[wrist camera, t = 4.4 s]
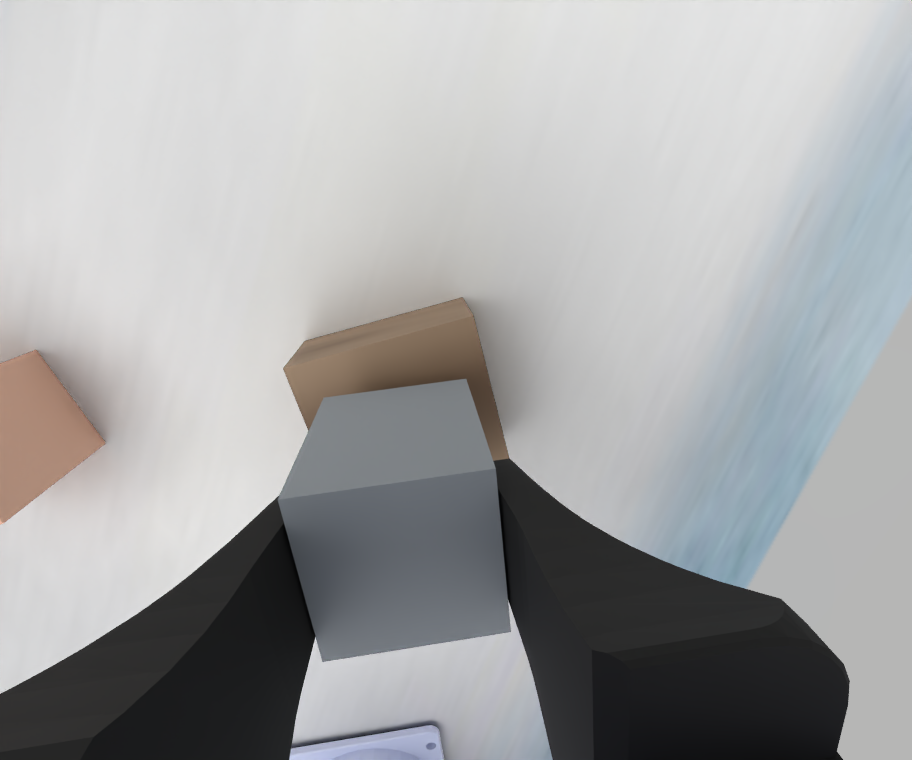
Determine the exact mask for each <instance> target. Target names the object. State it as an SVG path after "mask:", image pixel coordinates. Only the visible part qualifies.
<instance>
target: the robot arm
mask: <svg viewBox="0 0 912 760" xmlns="http://www.w3.org/2000/svg"><path fill="white" fill-rule="evenodd" d="M493 462H494V465H495V468H496V477H497V487H498V498H499V509H500V520H501V531H502V542H503V552H504V563H505V574H506V585H507V596H508V600H509V603H510V606H511V609H512V612H513V615H514V618H515V621H516V624H517V627H518V630H519V633H520V636H521V639H522V642H523V645H524V648H525V651H526V654H527V657H528V660H529V664H530V667H531V670H532V674H533V677H534V681H535V685H536V690H537V694H538V698H539V702H540V707H541V711H542V715H543V719H544V724H545V728H546V732H547V737H548V741H549V745H550V750H551V754H552V758H553V760H843V759H842V758H841V756H840V755H839V754H838V752H837V748H838V743H839V740H840V735H841V731H842V727H843V723H844V719H845V715H846V710H847V707H848V696H849V695H848V694H849V682H850V681H849V678H848V675H847V672H846V669H845V666H844V664H843V663H842V662H841V661H840V659H839V658H838V657H837V656H836V655H835V654H834V653H833V652H832V651H831V650H830V649H829V648H828V646H827V645H826V644H825V643H824V642H823V641H822V640H821V639H820V638H819V637H818V636H817V634H816V633H815V632H814V631H813V630H812V629H811V628H810V627H809V626H808V624H807V623H806V622H804V620H803V619H801V618H800V617H799V616H798V615H797V614H796V613H795V612H794V611H793V610H792V609H791V608H790V607H789V606H788V605H787V604H786V603H785V602H784V601H782V600H781V599H779V598H776V597H772V596H769V595H765V594H762V593H758V592H755V591H751V590H748V589H744V588H740V587H737V586H733V585H730V584H726V583H723V582H719V581H716V580H713V579H710V578H708V577H705V576H702V575H699V574H696V573H694V572H691V571H688V570H685V569H682V568H680V567H677V566H675V565H672V564H670V563H667V562H665V561H662V560H660V559H658V558H655V557H653V556H651V555H649V554H647V553H645V552H642V551H640V550H638V549H636V548H634V547H631V546H629V545H628V544H626V543H624V542H622V541H620V540H618V539H616V538H614V537H612V536H611V535H609V534H607V533H605V532H604V531H602V530H600V529H598V528H597V527H595V526H593V525H592V524H590V523H588V522H587V521H585V520H584V519H582V518H581V517H579V516H578V515H576V514H575V513H573V512H572V511H571V510H569V509H568V508H566V507H565V506H564V505H562V504H561V503H560V502H558V501H557V500H556V499H555V498H554V497H552V496H551V495H550V494H549V493H547V492H546V491H545V490H544V489H542V488H541V487H540V486H539V485H538V484H537V483H536V482H534V481H533V480H532V479H531V478H530V477H529V476H528V475H527V474H526V473H525V472H523V471H522V470H521V469H520V468H519V467H518V466H517V465H516V464H515V463H514V462H513V461H511V460H510V459H502V460H495V461H493ZM279 496H280V495H279ZM279 496H278V497H277V498H276V499H275V500H274V501H273V502H272V503H270V504H269V505H268V506H267V507H266V508H265V509H264V510H263V511H262V512H261V513H260V514H259V515H258V516H257V517H256V518H254V519H253V520H252V521H251V522H250V523H249V524H248V525H247V526H246V527H245V528H244V529H243V530H242V531H240V532H239V533H238V534H237V535H236V536H235V537H234V538H233V539H232V540H231V541H230V542H229V543H227V544H226V545H225V546H224V547H223V548H222V549H220V550H219V551H218V552H217V553H216V554H214V555H213V556H212V557H211V558H210V559H209V560H207V561H206V562H205V563H204V564H203V565H202V566H200V567H199V568H198V569H197V570H196V571H195V572H193V573H192V574H191V575H190V576H188V577H187V578H186V579H185V580H183V581H182V582H181V583H179V584H178V585H177V586H175V587H174V588H173V589H172V590H170V591H169V592H167V593H166V594H165V595H163V596H162V597H161V598H159V599H158V600H156V601H155V602H154V603H152V604H151V605H149V606H148V607H147V608H145V609H144V610H142V611H141V612H139V613H138V614H136V615H135V616H133V617H132V618H130V619H129V620H127V621H126V622H124V623H122V624H121V625H119V626H118V627H116V628H115V629H113V630H111V631H110V632H108V633H107V634H105V635H104V636H102V637H100V638H99V639H97V640H96V641H94V642H93V643H91V644H89V645H88V646H86V647H85V648H83V649H81V650H80V651H78V652H76V653H74V654H73V655H71V656H69V657H67V658H66V659H64V660H62V661H60V662H59V663H57V664H55V665H53V666H52V667H50V668H48V669H46V670H44V671H43V672H41V673H39V674H37V675H35V676H33V677H32V678H30V679H28V680H26V681H24V682H22V683H20V684H19V685H17V686H15V687H13V688H11V689H9V690H7V691H5V692H3V693H1V694H0V760H444V756H443V750H442V744H441V739H440V733H439V730H438V728H437V727H435V726H432V725H428V726H422V727H416V728H410V729H404V730H398V731H392V732H386V733H380V734H374V735H368V736H362V737H356V738H350V739H344V740H338V741H332V742H327V743H321V744H315V745H309V746H303V747H297V748H291V745H292V739H293V732H294V726H295V719H296V714H297V709H298V705H299V700H300V695H301V691H302V687H303V683H304V679H305V675H306V671H307V667H308V663H309V659H310V656H311V652H312V648H313V644H314V640H315V633H314V629H313V626H312V622H311V618H310V615H309V611H308V608H307V604H306V600H305V597H304V593H303V589H302V586H301V582H300V579H299V575H298V571H297V568H296V564H295V561H294V557H293V553H292V550H291V546H290V543H289V539H288V535H287V532H286V528H285V525H284V521H283V517H282V514H281V510H280V506H279V503H278V498H279Z"/></svg>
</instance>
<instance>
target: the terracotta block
mask: <svg viewBox="0 0 912 760" xmlns="http://www.w3.org/2000/svg"><path fill="white" fill-rule="evenodd" d="M104 444H105V441H104V440H103V439H102V437H101V436H100V435H99V433H98V432H97V431H96V429H95V428H94V427H93V425H92V424H91V423H90V421H89V420H88V419H87V417H86V416H85V415H84V413H83V412H82V411H81V409H80V408H79V407H78V405H77V404H76V403H75V401H74V400H73V398H72V397H71V396H70V394H69V393H68V392H67V390H66V389H65V388H64V386H63V385H62V384H61V382H60V381H59V380H58V378H57V377H56V376H55V374H54V373H53V372H52V370H51V369H50V368H49V366H48V365H47V364H46V362H45V361H44V360H43V358H42V357H41V355H40V354H39V353H38V351H37V350H34V351H32V352H29V353H26V354H24V355H21V356H19V357H16V358H13V359H11V360H8V361H6V362H3V363H0V524H3V523H4V522H6V521H7V520H8V519H10V518H11V517H12V516H13V515H15V514H16V513H17V512H19V511H20V510H21V509H22V508H24V507H25V506H26V505H27V504H29V503H30V502H31V501H33V500H34V499H35V498H36V497H38V496H39V495H40V494H42V493H43V492H44V491H45V490H47V489H48V488H49V487H50V486H52V485H53V484H54V483H56V482H57V481H58V480H59V479H61V478H62V477H63V476H65V475H66V474H67V473H68V472H70V471H71V470H72V469H73V468H75V467H76V466H77V465H79V464H80V463H81V462H82V461H84V460H85V459H86V458H88V457H89V456H90V455H91V454H93V453H94V452H95V451H97V450H98V449H99V448H100V447H102V446H103V445H104Z"/></svg>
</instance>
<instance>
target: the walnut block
mask: <svg viewBox="0 0 912 760" xmlns="http://www.w3.org/2000/svg"><path fill="white" fill-rule="evenodd" d="M283 370H284V372H285V374H286V377H287V379H288V382H289V384H290V387H291V389H292V392H293V394H294V396H295V399H296V401H297V404H298V406H299V409H300V411H301V414H302V416H303V418H304V421H305V423H306V426H307V428H308V431H309V429H310V427H311V425H312V422H313V420H314V418H315V416H316V414H317V411H318V409H319V407H320V405H321V402H322V400H323V398H325V397H332V396H340V395H347V394H355V393H362V392H370V391H377V390H385V389H392V388H400V387H407V386H415V385H422V384H430V383H437V382H444V381H452V380H459V379H466V380H467V383H468V386H469V389H470V392H471V395H472V398H473V401H474V404H475V407H476V410H477V413H478V416H479V419H480V422H481V425H482V428H483V431H484V434H485V437H486V440H487V443H488V446H489V450H490V453H491V456H492V459H493V461H495V460H502V459H509V455H508V451H507V447H506V443H505V439H504V435H503V431H502V427H501V423H500V419H499V415H498V411H497V407H496V403H495V399H494V396H493V392H492V388H491V384H490V380H489V376H488V372H487V368H486V364H485V360H484V356H483V352H482V348H481V344H480V340H479V336H478V332H477V328H476V324H475V320H474V316H473V314H472V312H471V311H470V309H469V307H468V306H467V304H466V303H465V301H464V299H463V298H459V299H455V300H451V301H448V302H444V303H441V304H437V305H433V306H430V307H426V308H422V309H419V310H415V311H412V312H408V313H404V314H401V315H397V316H394V317H390V318H386V319H383V320H379V321H375V322H372V323H368V324H365V325H361V326H357V327H354V328H350V329H347V330H343V331H339V332H336V333H332V334H328V335H325V336H321V337H318V338H314V339H310V340H307V341H304V343H303V344H302V345H301V346H300V348H299V349H298V350H297V352H296V353H295V354H294V355H293V357H292V358H291V359H290V360H289V362H288V363H287V364H286V365H285V367H284V368H283Z"/></svg>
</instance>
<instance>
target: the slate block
mask: <svg viewBox="0 0 912 760" xmlns="http://www.w3.org/2000/svg"><path fill="white" fill-rule="evenodd" d="M278 503H279V506H280V510H281V514H282V517H283V521H284V525H285V528H286V532H287V535H288V539H289V543H290V546H291V550H292V553H293V557H294V561H295V564H296V568H297V571H298V575H299V579H300V582H301V586H302V589H303V593H304V597H305V600H306V604H307V608H308V611H309V615H310V618H311V622H312V626H313V629H314V633H315V636H316V640H317V644H318V647H319V651H320V654H321V658H322V662H325V661H331V660H338V659H344V658H350V657H356V656H363V655H369V654H375V653H381V652H388V651H394V650H400V649H406V648H413V647H419V646H425V645H431V644H438V643H444V642H450V641H457V640H463V639H469V638H475V637H482V636H488V635H494V634H500V633H507V632H511V628H510V617H509V606H508V596H507V585H506V574H505V563H504V552H503V542H502V531H501V520H500V509H499V498H498V487H497V477H496V468H495V465H494V462H493V459H492V456H491V453H490V450H489V446H488V443H487V440H486V437H485V434H484V431H483V428H482V425H481V422H480V419H479V416H478V413H477V410H476V407H475V404H474V401H473V398H472V395H471V392H470V389H469V386H468V383H467V380H466V379H459V380H452V381H444V382H437V383H430V384H422V385H415V386H407V387H400V388H392V389H385V390H377V391H370V392H362V393H355V394H347V395H340V396H332V397H325V398H323V400H322V402H321V405H320V407H319V409H318V411H317V414H316V416H315V418H314V420H313V422H312V425H311V427H310V429H309V431H308V434H307V436H306V438H305V440H304V442H303V445H302V447H301V449H300V451H299V453H298V456H297V458H296V460H295V462H294V465H293V467H292V469H291V471H290V473H289V476H288V478H287V480H286V482H285V485H284V487H283V489H282V491H281V493H280V496H279V498H278Z"/></svg>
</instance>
